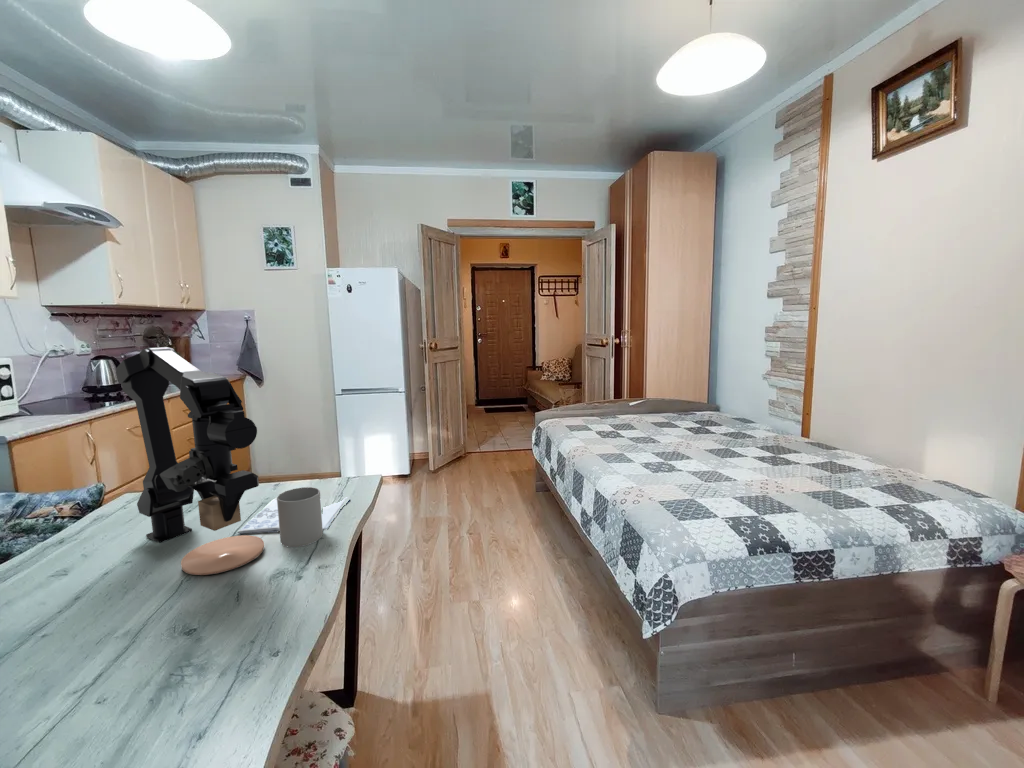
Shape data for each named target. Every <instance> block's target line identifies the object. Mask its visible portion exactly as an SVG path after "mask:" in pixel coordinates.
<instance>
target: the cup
mask: <svg viewBox="0 0 1024 768" xmlns="http://www.w3.org/2000/svg"><path fill="white" fill-rule="evenodd" d="M276 499H277V505H278V518H279V530H280V532H279V539H280V540H279V541H280V544H281V543H282V544H281V545H282V546H283V545H284V547H287V546H288V548H299V546H300V547H304V546H308V545H311V544H313V543H316V542H317V541H319V540H320V539H321V538H322V537H323V535H324V532H323V531H324V530H323V529H322V514H321V500H320V499H321V490H319V488H316V487H312V486H310V487H309V486H307V487H299V488H297V487H296V488H292V489H287V490H285V491H284V492H281V493H279V494H278V495H277V497H276ZM315 541H316V542H315Z"/></svg>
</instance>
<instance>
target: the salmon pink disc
mask: <svg viewBox="0 0 1024 768" xmlns="http://www.w3.org/2000/svg"><path fill="white" fill-rule="evenodd" d="M264 549H265V541H264V540H263V539H262V538H261V537H258V536H256V535H248V534H247V535H246V534H241V535H233V536H227V537H223V538H222V537H221V538H219V539H214V540H212V541H209V542H206V543H203V544H202V545H199V546H197V547H195V548H193V549H192V550H190V551H188V552H187V553H186V554H185V555H184V556H183V557H182V559H181V562H180V567H181V570H182V571H183V572H184V573H186V574H188V575H195V576H204V575H206V576H207V575H213V574H215V575H216V574H219V573H223V572H228V571H231V570H234V569H237V568H239V567H242V566H244V565H246V564H249V563H251V562H252V561H254V560H255V559H257V558H258V557H259V556H260V555H261V554H262V553H263V551H264Z"/></svg>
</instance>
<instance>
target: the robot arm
mask: <svg viewBox="0 0 1024 768" xmlns="http://www.w3.org/2000/svg"><path fill="white" fill-rule="evenodd" d="M115 369H116V370H115V376H116V378H117V381H118V382H119V383H120V385H121V388H122V392H124V393H125V394H126V395H127V396H128V397H129V398H130V399H132V400H133V401H134V403H135V405H136V406H135V407H136V412H137V415H138V420H139V425H140V429H141V430H140V431H141V434H142V439H143V443H144V448H145V453H146V456H147V463H148V467H149V468H148V469H147V472H146V474H145V476H144V477H143V479H142V487H143V490H142V492H141V494H140V497H139V498H138V501H137V504H136V505H137V510H138V513H139V514H141V515H143V516H146V517H148V518H150V519H151V520H150V521H151V526H152V527H151V529H152V532H149V533H146V535H145V537H146V538H149V539H150V540H152V541H154V542H156V543H159V544H160V543H164V542H167V541H169V540H172V539H175V538H178V537H180V536H183V535H186V534H188V533H192V532H193V528H191V527H189V526H186V524H185V516H184V515H185V514H184V507H183V506H186V505H190V504H193V501H194V492H195V491H196V492H197V494H198V495H199V497H200V500H203V499H206V498H209V497H212V496H216V497H217V498H218V499H219V503H220V507H221V511H222V515H223V518H224V521H225V522H227V521H230V520H231V519H232V517H233V515H234V512H235V510H236V508H237V506H238V503H239V504H240V500H241V499H242V497H243V495H244V493H245V491H248V490H251V489H254V488H258V487H259V486H260V483H259V475H257V474H256V473H254V472H251V471H248V470H240V471H239V470H238V464H235V463H233V457H232V452H233V451H237V450H238V449H240V450H241V449H245V448H247V447H249V446H250V445H252V444H253V443H254V441H255V440H256V439H257V435H258V427H257V425H256V423H255V422H254V421H253V420H252V419H251V418H248V417H246V414H245V411H244V406H243V405H242V403H243V401H242V400H241V398H240V396H239V395H238V394H237V392H236V390H235V388H234V387H233V384H231V382H230V381H229V379H227V378H226V377H225V376H224V375H221V374H219V373H216V372H208V371H203V370H200V369H199V368H197V367H196V366H194V365H193V364H191V362H188V361H187V360H186V359H184V358H183V357H182V356H180V355H179V354H178V353H177V352H176V350H175V349H174V348H172V347H169V346H162V347H159V346H158V347H146V348H143V349H142V350H141V351H140V352H139V353H136V354H134V355H132V356H130V357H127V358H125V359H123V360H122V361H121V362H120V363H119V364H118V366H117V367H116V368H115ZM170 383H171V384H172V385H173V386H175V387H176V388H178V389H179V391H180V393H179V399H180V400H181V401H182V403H183V404H184V405H185V406H186V407H187V409H188V410H189V412H188V414H187V418H188V419H191V423H192V431H193V440H194V447H192V448H189V449H190V450H189V452H188V455H189V457H188V458H186V459H184V460H181V461H179V462H178V461H177V458H176V457H177V456H176V453H175V452H176V451H175V447H174V443H173V437H172V433H171V428H170V425H169V419H168V416H167V415H168V414H167V410H166V406H165V401H164V396H165V394H166V392H167V391H168V388H169V387H170Z"/></svg>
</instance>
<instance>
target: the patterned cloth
mask: <svg viewBox="0 0 1024 768" xmlns="http://www.w3.org/2000/svg"><path fill="white" fill-rule="evenodd" d="M348 497H349V496H346V497H345V498H344V497H343V498H344V499H343V500H342V501H340V502H338V503H334V504H331V505H329V506H326V507H323V514H322V529H323V531H325V530H324V529H327V530H328V529H329V528H330V527H331V525H332V523H333V522H332V520H333V519H334V517H335V514H336V513H337V512H338V510H339V509H340V507H341V506H342V505H343V503H344V501H345V499H347V498H348ZM334 520H335V519H334ZM331 522H332V523H331ZM330 524H331V525H330ZM329 526H330V527H329ZM277 531H280V530H279V518H278V505H277V498H273V499H272V500H271V501H269V502H268V503H267V504H266V505H265V506H264V507H263V508H262V509H261V510H260V511H258V512H257V513H256V514H255V515H254V516H253V517H252V518H251V519H250V520H248V521H247V522H246V524H244V525H243V526H242V527H241V528H240V529H238V531H237V533H238V534H240V535H246V534H247V535H248V534H262V533H261V532H268V533H278V532H277Z"/></svg>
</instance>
